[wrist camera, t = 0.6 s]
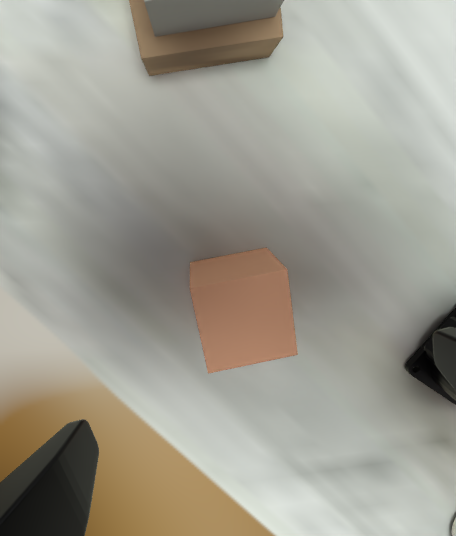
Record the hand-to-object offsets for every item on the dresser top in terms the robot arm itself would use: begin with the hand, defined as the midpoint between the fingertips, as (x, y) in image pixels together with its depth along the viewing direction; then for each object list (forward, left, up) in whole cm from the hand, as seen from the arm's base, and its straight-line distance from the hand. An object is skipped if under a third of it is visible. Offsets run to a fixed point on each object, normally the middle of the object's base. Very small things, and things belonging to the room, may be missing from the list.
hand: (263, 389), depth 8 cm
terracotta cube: (-2, +1, -12) cm, 12 cm away
